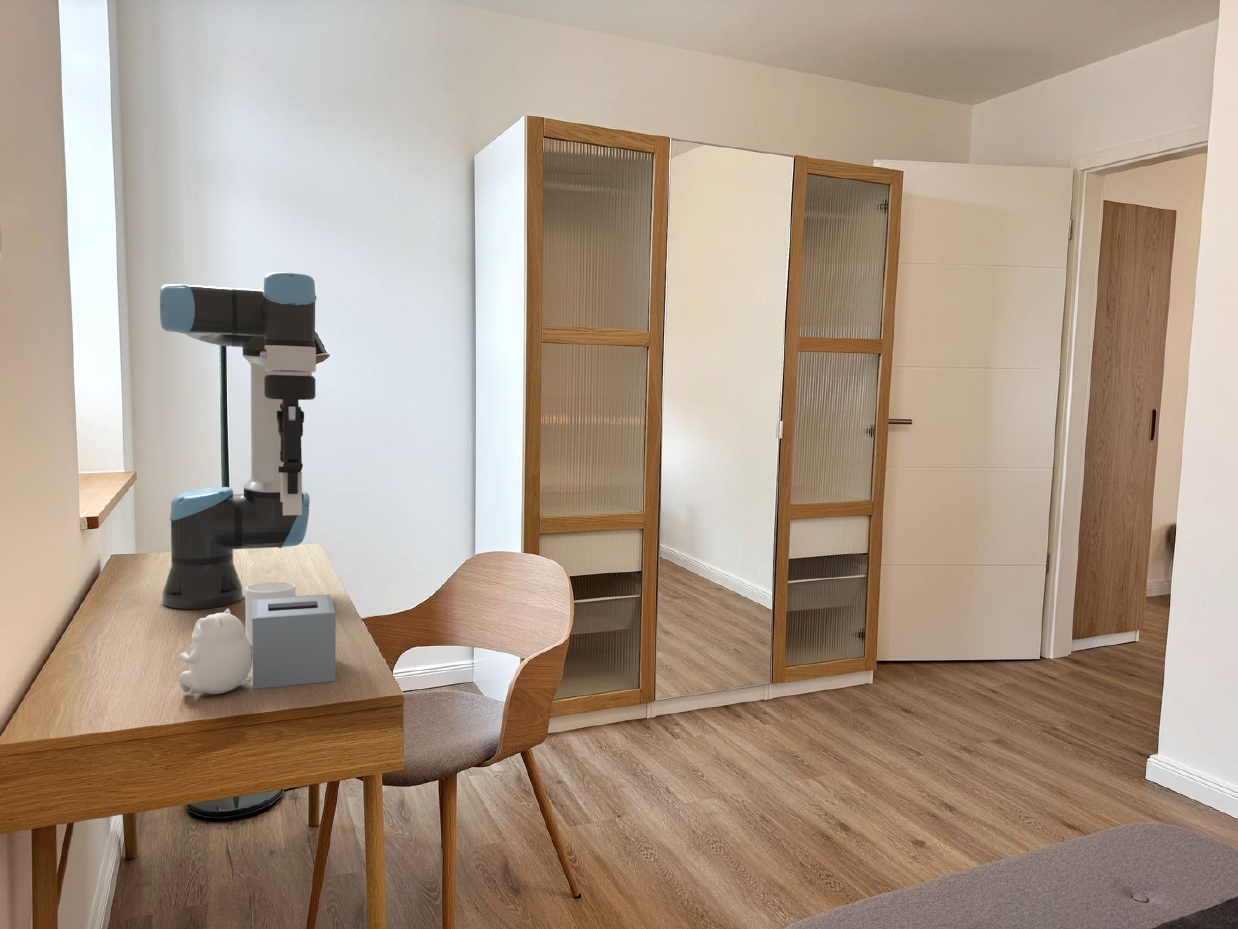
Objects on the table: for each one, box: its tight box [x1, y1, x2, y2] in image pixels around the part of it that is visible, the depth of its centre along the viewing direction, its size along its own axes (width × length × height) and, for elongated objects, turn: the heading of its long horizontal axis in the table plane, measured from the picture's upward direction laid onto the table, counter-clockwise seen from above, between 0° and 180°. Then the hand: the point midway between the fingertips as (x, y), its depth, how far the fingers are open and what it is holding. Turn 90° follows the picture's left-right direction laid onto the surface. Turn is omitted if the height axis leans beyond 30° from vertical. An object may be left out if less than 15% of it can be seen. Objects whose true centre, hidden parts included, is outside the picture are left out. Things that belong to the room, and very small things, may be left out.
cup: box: [244, 580, 296, 648], centre depth 157 cm, size 8×12×10 cm
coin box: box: [252, 594, 336, 690], centre depth 140 cm, size 12×12×11 cm
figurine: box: [177, 608, 253, 695], centre depth 131 cm, size 10×10×12 cm
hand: (290, 508), depth 138 cm, fingers open, 13 cm apart
